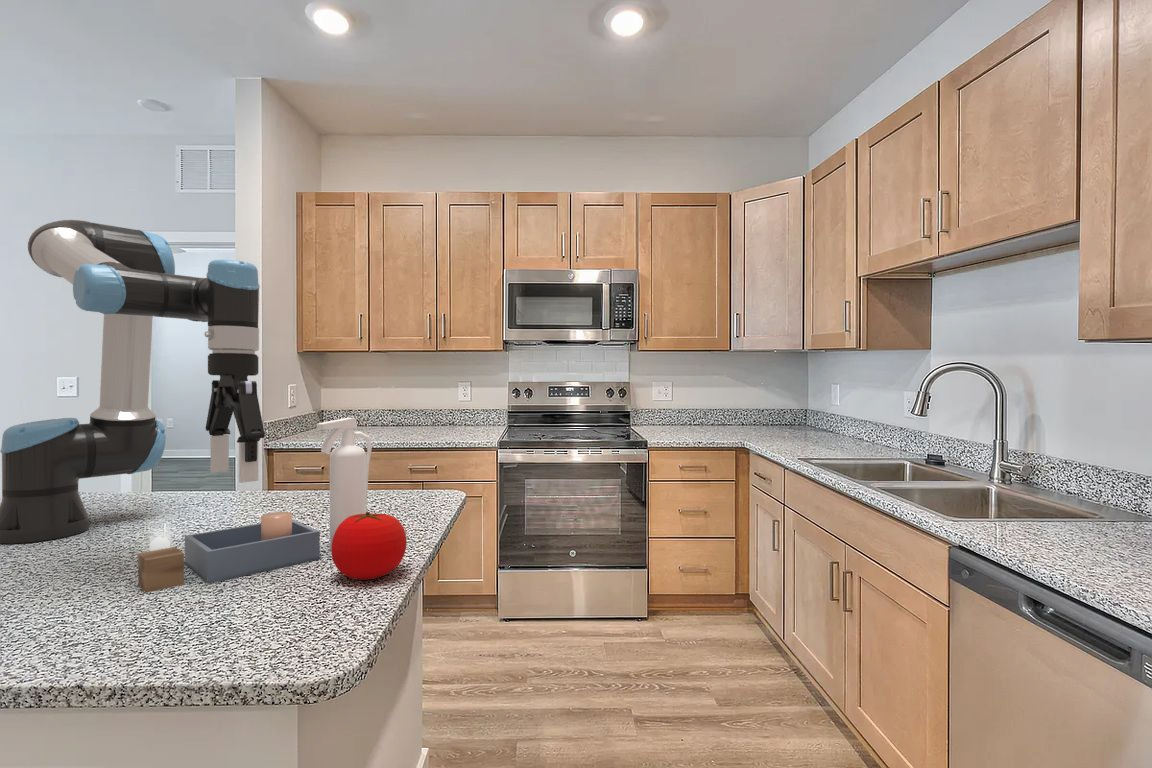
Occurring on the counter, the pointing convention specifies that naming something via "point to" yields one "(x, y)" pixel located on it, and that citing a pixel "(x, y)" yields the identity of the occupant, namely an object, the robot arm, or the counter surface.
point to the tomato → (368, 545)
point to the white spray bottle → (346, 471)
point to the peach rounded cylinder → (276, 525)
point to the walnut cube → (160, 569)
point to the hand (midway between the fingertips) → (233, 476)
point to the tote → (248, 551)
